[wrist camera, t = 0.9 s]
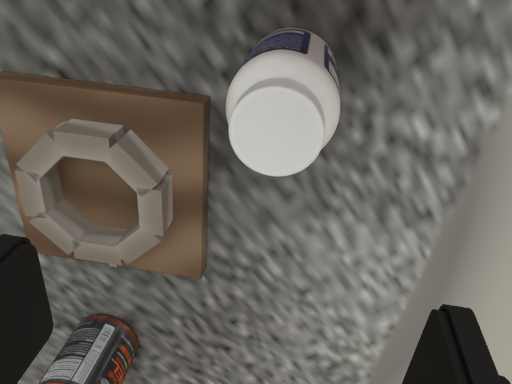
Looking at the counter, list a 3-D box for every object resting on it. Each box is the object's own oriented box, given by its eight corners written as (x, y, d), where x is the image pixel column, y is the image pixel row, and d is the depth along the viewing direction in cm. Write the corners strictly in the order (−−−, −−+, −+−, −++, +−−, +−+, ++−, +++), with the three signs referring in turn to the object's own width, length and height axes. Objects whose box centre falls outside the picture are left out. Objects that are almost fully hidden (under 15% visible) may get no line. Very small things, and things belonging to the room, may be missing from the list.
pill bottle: (231, 86, 27) (188, 150, 18) (277, 7, 24) (251, 38, 16) (304, 131, 28) (294, 212, 19) (356, 59, 25) (370, 116, 17)
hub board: (3, 71, 28) (-38, 86, 25) (209, 96, 27) (194, 115, 24) (40, 240, 36) (12, 269, 32) (205, 266, 34) (193, 299, 31)
